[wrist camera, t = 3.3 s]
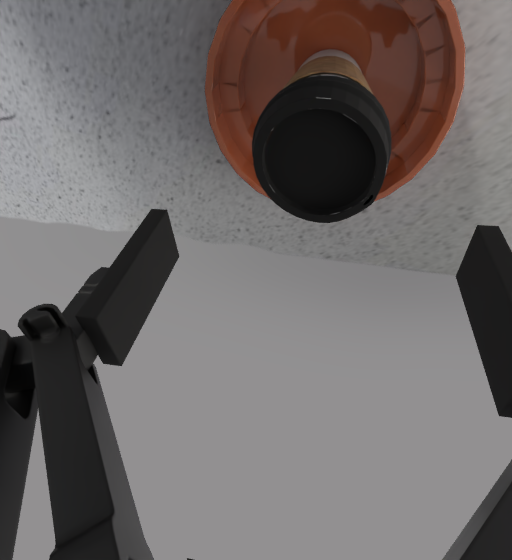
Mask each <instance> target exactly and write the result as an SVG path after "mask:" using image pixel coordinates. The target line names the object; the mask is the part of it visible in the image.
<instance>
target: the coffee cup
mask: <svg viewBox="0 0 512 560" xmlns="http://www.w3.org/2000/svg"><path fill="white" fill-rule="evenodd" d="M391 142H392V139H391V130H390V124H389V120H388V118H387V115H386V113H385V111H384V108H383V107H382V105H381V104H380V103H379V101H378V100H377V98H376V97H375V96H374V95H373V93H372V91H371V89H370V87H369V85H368V83H367V81H366V79H365V77H364V75H363V74H362V72H361V69H360V67H359V65H358V64H357V62H356V61H355V60H354V59H353V58H352V57H351V56H350V55H349V54H347V53H345V52H343V51H340V50H335V49H328V50H322V51H319V52H317V53H315V54H313V55H312V56H310V57H309V58H308V59H307V60H306V61H305V62H304V63H303V64H302V65H301V67H300V68H299V70H298V71H297V72H296V73H295V74H294V75H293V77H292V78H291V79H290V80H289V82H288V83H287V84H286V85H285V86H284V88H283V89H282V90H281V91H279V92H278V93H277V94H276V95H275V96H274V97H273V98H272V99H271V100H270V101H269V103H268V104H267V106H266V107H265V109H264V110H263V112H262V113H261V115H260V117H259V118H258V121H257V124H256V126H255V129H254V133H253V139H252V156H253V165H254V169H255V173H256V177H257V179H258V181H259V183H260V185H261V187H262V188H263V190H264V191H265V193H266V194H267V195H268V197H269V198H270V199H271V200H273V201H274V202H275V203H276V204H277V205H278V206H279V207H281V208H282V209H284V210H285V211H287V212H289V213H290V214H292V215H294V216H296V217H299V218H302V219H305V220H308V221H313V222H319V223H331V222H337V221H341V220H344V219H347V218H349V217H351V216H353V215H355V214H357V213H359V212H361V211H362V210H364V209H365V208H367V207H368V206H370V205H371V204H372V203H373V202H374V201H375V199H376V197H377V195H378V193H379V191H380V189H381V187H382V185H383V182H384V179H385V175H386V171H387V168H388V165H389V161H390V156H391Z"/></svg>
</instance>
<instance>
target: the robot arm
mask: <svg viewBox="0 0 512 560" xmlns="http://www.w3.org/2000/svg"><path fill="white" fill-rule="evenodd" d="M178 258H179V253H178V250H177V246H176V242H175V238H174V234H173V231H172V227H171V223H170V219H169V215H168V212H167V210H160V209H151V210H150V212H149V213H148V215H147V216H146V217H145V219H144V220H143V222H142V223H141V224H140V226H139V227H138V229H137V230H136V231H135V233H134V234H133V236H132V237H131V238H130V240H129V241H128V243H127V244H126V245H125V247H124V249H123V250H122V251H121V252H120V254H119V255H118V257H117V258H116V260H115V261H114V262H113V264H112V265H111V266H110V268H106V267H101V268H100V269H98V270H97V271H96V272H94V273H93V274H92V275H91V276H90V277H89V278H88V280H87V281H86V282H85V284H84V286H82V288H81V289H80V290H79V291H78V292H79V293H77V294H76V295H75V297H74V298H73V299H72V301H71V302H70V303H69V305H68V306H67V307H66V309H65V310H64V311H63V313H61V312H60V310H59V309H58V307H57V306H55V305H53V304H42V305H38V306H36V307H34V308H32V309H30V310H28V311H27V312H26V313H25V314H23V315H22V317H21V318H20V320H19V322H18V327H19V328H20V329H21V331H22V332H23V334H24V336H18V337H12V338H11V337H10V336H9V334H8V333H7V332H6V331H5V330H1V329H0V560H12V558H13V552H14V546H15V540H16V534H17V529H18V523H19V517H20V511H21V505H22V499H23V493H24V488H25V482H26V476H27V470H28V464H29V458H30V452H31V446H32V440H33V435H34V428H35V422H36V417H37V411H38V409H39V416H40V424H41V431H42V439H43V447H44V455H45V463H46V470H47V478H48V485H49V493H50V501H51V508H52V516H53V524H54V532H55V539H56V540H55V541H56V545H55V549H54V551H53V552H52V553H51V555H50V559H49V560H154V558H153V556H152V553H151V551H150V549H149V547H148V545H147V543H146V540H145V538H144V535H143V532H142V528H141V524H140V521H139V517H138V514H137V510H136V507H135V503H134V500H133V496H132V493H131V489H130V486H129V482H128V479H127V475H126V472H125V468H124V465H123V461H122V458H121V454H120V451H119V447H118V444H117V440H116V437H115V433H114V430H113V426H112V423H111V419H110V416H109V413H108V409H107V405H106V402H105V398H104V395H103V391H102V388H101V384H100V381H99V377H98V374H97V370H96V367H95V366H94V364H93V362H94V360H95V359H96V357H97V355H99V357H100V359H101V361H102V362H103V364H110V365H118V366H122V364H123V362H124V360H125V358H126V357H127V355H128V353H129V351H130V349H131V347H132V345H133V343H134V341H135V340H136V338H137V336H138V334H139V332H140V330H141V328H142V326H143V324H144V322H145V321H146V319H147V316H148V315H149V313H150V311H151V309H152V307H153V305H154V303H155V302H156V299H157V298H158V296H159V294H160V292H161V290H162V288H163V286H164V284H165V282H166V281H167V279H168V277H169V275H170V273H171V271H172V269H173V267H174V265H175V263H176V261H177V260H178ZM456 279H457V282H458V285H459V288H460V292H461V295H462V298H463V301H464V304H465V307H466V311H467V314H468V317H469V321H470V324H471V327H472V330H473V333H474V337H475V340H476V343H477V346H478V350H479V353H480V356H481V359H482V362H483V366H484V369H485V372H486V376H487V378H488V382H489V385H490V389H491V392H492V395H493V398H494V401H495V405H496V408H497V411H498V414H499V416H503V417H511V418H512V252H511V250H510V248H509V246H508V244H507V242H506V240H505V238H504V236H503V234H502V232H501V230H500V228H499V226H484V225H477V227H476V230H475V232H474V234H473V237H472V239H471V241H470V244H469V246H468V249H467V251H466V253H465V256H464V258H463V260H462V263H461V265H460V268H459V270H458V272H457V275H456ZM187 560H193V559H188V558H187ZM442 560H512V460H511V462H510V463H509V465H508V466H507V467H506V469H505V470H504V472H503V473H502V475H501V476H500V477H499V479H498V481H497V482H496V483H495V485H494V486H493V488H492V489H491V490H490V492H489V493H488V495H487V496H486V498H485V499H484V500H483V502H482V504H481V505H480V506H479V508H478V509H477V510H476V512H475V513H474V515H473V516H472V518H471V519H470V521H469V522H468V523H467V525H466V526H465V528H464V529H463V531H462V532H461V534H460V535H459V536H458V538H457V539H456V541H455V542H454V544H453V545H452V546H451V548H450V549H449V551H448V552H447V553H446V555H445V557H444V558H443V559H442Z"/></svg>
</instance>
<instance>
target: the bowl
mask: <svg viewBox="0 0 512 560" xmlns="http://www.w3.org/2000/svg"><path fill="white" fill-rule="evenodd" d="M328 49H335V50H340V51H343V52H345V53H347V54H349V55H350V56H351V57H352V58H353V59H354V60H355V61H356V62H357V64H358V65H359V67H360V69H361V72H362V74H363V75H364V77H365V79H366V81H367V83H368V85H369V87H370V89H371V91H372V93H373V95H374V96H375V97H376V98H377V100H378V101H379V103H380V104H381V105H382V107H383V108H384V111H385V113H386V115H387V118H388V120H389V124H390V130H391V139H392V142H391V156H390V161H389V165H388V168H387V171H386V175H385V179H384V182H383V185H382V187H381V189H380V191H379V193H378V195H377V197H376V199H375V201H376V200H379V199H381V198H384V197H386V196H388V195H389V194H391V193H392V192H394V191H395V190H397V189H398V188H399V187H401V186H402V185H404V184H405V183H407V182H408V181H410V180H411V179H412V178H413V177H414V176H415V175H416V174H417V173H418V172H419V171H420V170H421V169H422V168H423V166H424V165H425V164H426V163H427V162H428V161H429V160H430V159H431V158H432V157H433V156H434V155H435V153H436V152H437V150H438V148H439V146H440V145H441V143H442V141H443V140H444V138H445V136H446V134H447V133H448V131H449V129H450V128H451V126H452V124H453V122H454V119H455V115H456V112H457V108H458V105H459V102H460V98H461V95H462V92H463V88H464V74H465V43H464V39H463V36H462V32H461V28H460V24H459V20H458V16H457V12H456V8H455V6H454V5H453V3H452V1H451V0H232V2H231V3H230V5H229V6H228V8H227V9H226V11H225V12H224V14H223V15H222V17H221V19H220V21H219V24H218V27H217V30H216V33H215V35H214V38H213V41H212V44H211V47H210V50H209V53H208V59H207V70H206V82H205V95H206V102H207V109H208V116H209V122H210V125H211V127H212V130H213V132H214V135H215V138H216V140H217V143H218V145H219V148H220V150H221V152H222V153H223V154H224V156H225V157H226V159H227V160H228V162H229V163H230V164H231V166H232V167H233V169H234V170H235V172H236V173H237V174H238V175H239V176H240V177H241V178H242V179H244V180H245V181H246V182H247V183H248V184H249V185H250V186H251V187H252V188H254V189H255V190H256V191H257V192H259V193H261V194H262V195H264V196H266V197H268V195H267V194H266V193H265V191H264V190H263V188H262V187H261V185H260V183H259V181H258V179H257V177H256V173H255V169H254V165H253V156H252V139H253V133H254V129H255V126H256V124H257V121H258V118H259V117H260V115H261V113H262V112H263V110H264V109H265V107H266V106H267V104H268V103H269V101H270V100H271V99H272V98H273V97H274V96H275V95H276V94H277V93H278V92H279V91H281V90H282V89H283V88H284V86H285V85H286V84H287V83H288V82H289V80H290V79H291V78H292V77H293V75H294V74H295V73H296V72H297V71H298V70H299V68H300V67H301V65H302V64H303V63H304V62H305V61H306V60H307V59H308V58H309V57H310V56H312V55H313V54H315V53H317V52H319V51H322V50H328ZM268 198H269V197H268Z"/></svg>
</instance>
